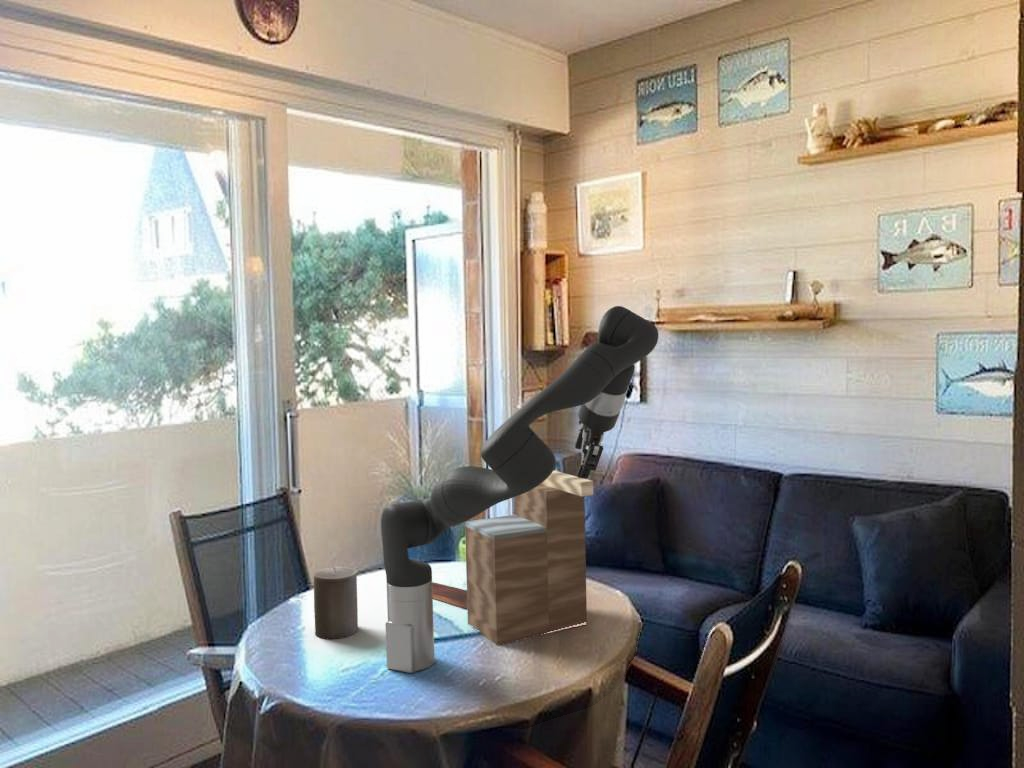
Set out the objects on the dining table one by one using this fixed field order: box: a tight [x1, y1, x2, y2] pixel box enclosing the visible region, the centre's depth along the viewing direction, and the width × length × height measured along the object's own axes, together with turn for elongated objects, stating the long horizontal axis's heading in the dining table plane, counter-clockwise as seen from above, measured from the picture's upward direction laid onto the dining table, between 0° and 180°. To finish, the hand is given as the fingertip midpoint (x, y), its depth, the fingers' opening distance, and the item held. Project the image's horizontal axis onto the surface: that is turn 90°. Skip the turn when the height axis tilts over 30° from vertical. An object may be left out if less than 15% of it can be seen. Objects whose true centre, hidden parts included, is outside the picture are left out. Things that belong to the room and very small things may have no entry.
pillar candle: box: [313, 566, 359, 640], centre depth 184 cm, size 10×10×15 cm
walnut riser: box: [464, 484, 588, 646], centre depth 185 cm, size 15×23×32 cm, turn 118°
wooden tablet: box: [432, 581, 468, 611], centre depth 208 cm, size 26×2×10 cm
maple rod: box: [541, 469, 594, 497], centre depth 182 cm, size 22×3×3 cm, turn 28°
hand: (580, 462), depth 165 cm, fingers open, 8 cm apart
